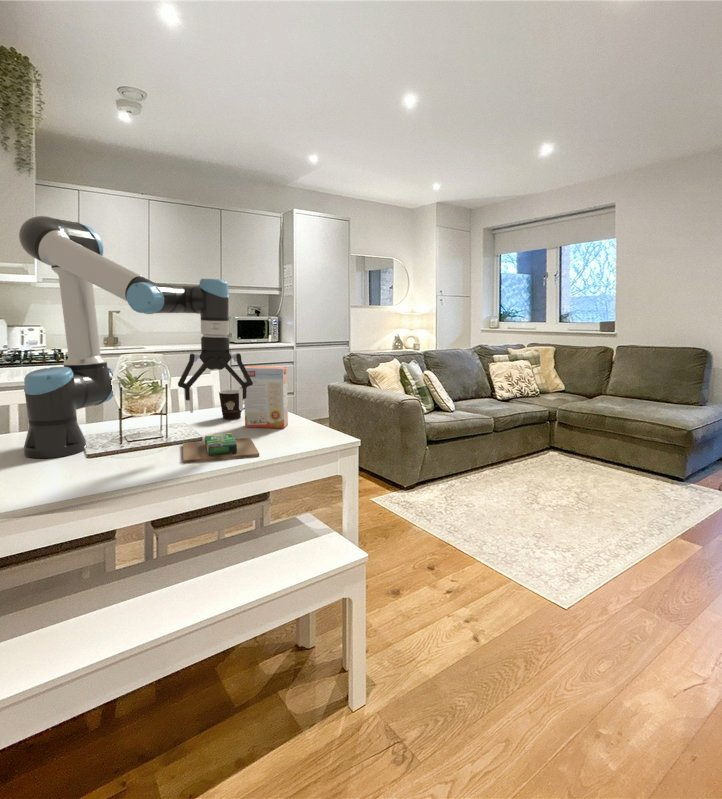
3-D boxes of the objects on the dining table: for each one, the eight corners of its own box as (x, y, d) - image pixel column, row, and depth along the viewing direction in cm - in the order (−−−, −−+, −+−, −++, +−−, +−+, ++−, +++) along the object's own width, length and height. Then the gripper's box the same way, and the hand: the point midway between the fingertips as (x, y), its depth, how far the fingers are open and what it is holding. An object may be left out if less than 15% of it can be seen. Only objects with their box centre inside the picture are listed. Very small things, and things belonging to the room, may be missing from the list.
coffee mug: (215, 419, 183) (214, 392, 182) (228, 414, 191) (227, 389, 190) (243, 421, 180) (242, 394, 178) (254, 417, 188) (254, 391, 186)
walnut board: (183, 463, 132) (183, 460, 132) (182, 445, 149) (182, 442, 149) (259, 456, 139) (259, 453, 139) (250, 440, 156) (250, 437, 156)
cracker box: (288, 424, 176) (287, 366, 173) (284, 429, 170) (283, 368, 167) (250, 423, 178) (248, 365, 174) (244, 427, 172) (242, 367, 168)
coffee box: (206, 446, 135) (204, 434, 147) (207, 456, 136) (205, 444, 148) (236, 443, 138) (232, 432, 150) (237, 453, 138) (232, 441, 151)
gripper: (166, 336, 130) (169, 415, 134) (262, 337, 139) (262, 411, 143) (167, 334, 137) (170, 409, 141) (258, 335, 146) (258, 406, 150)
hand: (216, 410), depth 142 cm, fingers open, 13 cm apart
